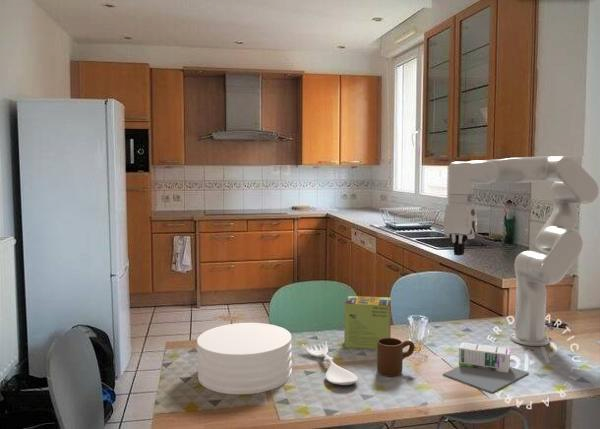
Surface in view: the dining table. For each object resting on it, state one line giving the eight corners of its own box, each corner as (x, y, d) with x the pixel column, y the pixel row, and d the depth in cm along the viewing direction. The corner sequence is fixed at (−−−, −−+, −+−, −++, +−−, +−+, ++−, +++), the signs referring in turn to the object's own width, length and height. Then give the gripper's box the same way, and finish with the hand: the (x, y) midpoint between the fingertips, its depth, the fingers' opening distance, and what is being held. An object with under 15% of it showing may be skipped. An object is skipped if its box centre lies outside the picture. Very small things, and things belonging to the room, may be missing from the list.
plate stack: (298, 390, 146) (297, 350, 145) (196, 398, 142) (195, 357, 141) (285, 354, 174) (285, 320, 173) (199, 359, 170) (198, 325, 168)
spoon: (326, 349, 178) (326, 339, 178) (363, 388, 147) (363, 376, 147) (300, 352, 175) (300, 342, 175) (333, 392, 145) (333, 380, 144)
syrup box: (458, 347, 161) (509, 354, 154) (461, 341, 166) (510, 348, 160) (458, 365, 161) (508, 373, 155) (461, 359, 166) (510, 366, 160)
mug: (408, 364, 164) (408, 334, 163) (420, 373, 157) (420, 343, 156) (372, 368, 161) (373, 338, 160) (383, 378, 153) (383, 347, 152)
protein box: (389, 350, 176) (390, 305, 174) (344, 347, 179) (344, 303, 177) (390, 339, 186) (391, 297, 184) (347, 337, 189) (347, 295, 187)
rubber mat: (480, 358, 168) (480, 357, 168) (528, 373, 156) (528, 372, 155) (442, 375, 155) (442, 373, 155) (492, 393, 143) (492, 392, 143)
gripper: (487, 200, 168) (485, 256, 170) (447, 197, 180) (446, 250, 182) (474, 201, 163) (472, 259, 165) (434, 199, 175) (433, 253, 177)
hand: (458, 254), depth 173 cm, fingers closed
